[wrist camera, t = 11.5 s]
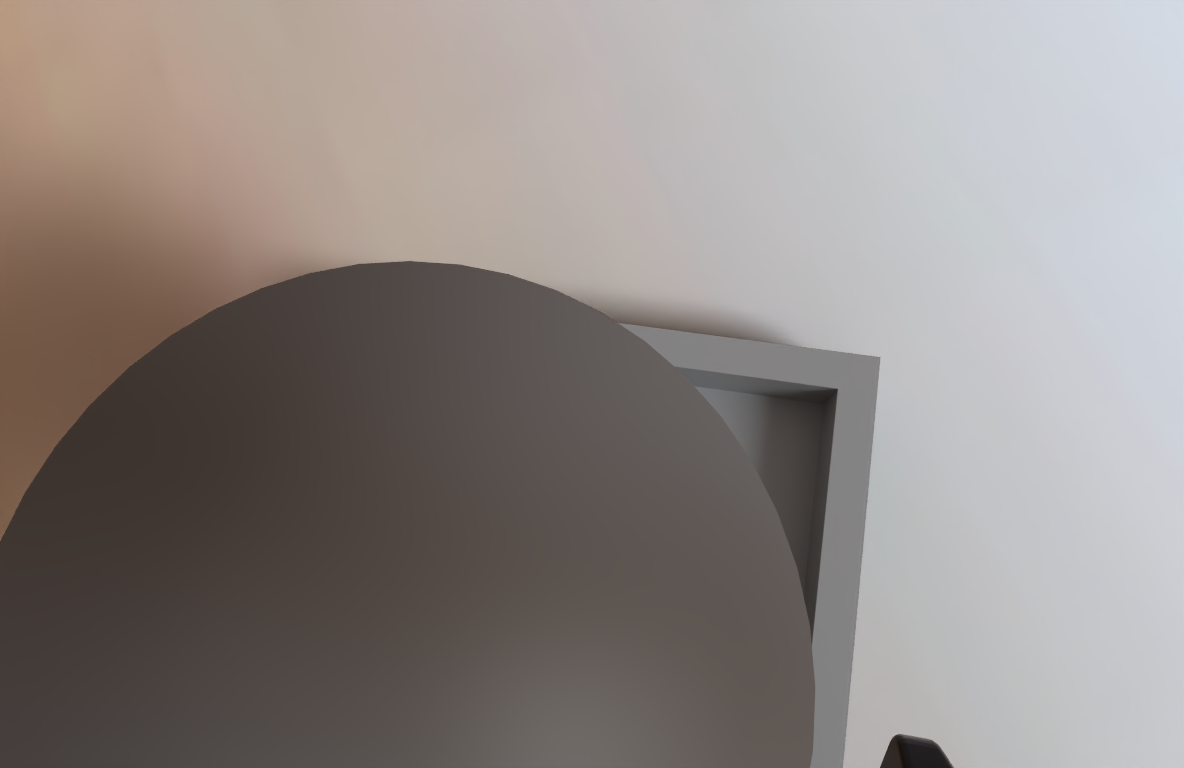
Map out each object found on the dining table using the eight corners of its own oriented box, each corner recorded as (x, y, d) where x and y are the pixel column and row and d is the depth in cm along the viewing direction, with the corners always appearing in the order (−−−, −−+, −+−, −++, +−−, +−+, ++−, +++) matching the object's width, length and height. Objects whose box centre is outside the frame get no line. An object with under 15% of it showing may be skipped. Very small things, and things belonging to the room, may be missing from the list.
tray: (797, 969, 18) (819, 1026, 16) (269, 859, 19) (215, 897, 17) (855, 383, 21) (880, 357, 18) (387, 319, 22) (355, 288, 20)
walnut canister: (661, 802, 18) (677, 1355, 5) (396, 710, 19) (-193, 978, 6) (735, 523, 19) (904, 378, 6) (483, 449, 20) (158, 180, 7)
